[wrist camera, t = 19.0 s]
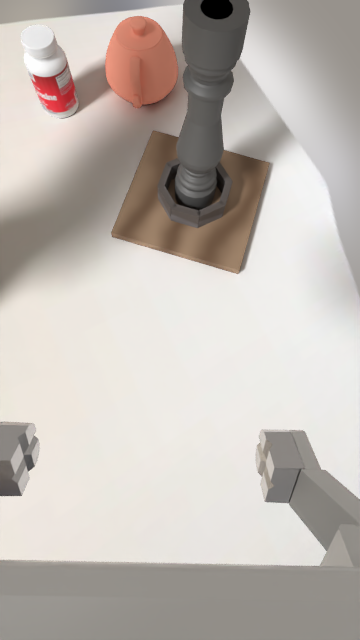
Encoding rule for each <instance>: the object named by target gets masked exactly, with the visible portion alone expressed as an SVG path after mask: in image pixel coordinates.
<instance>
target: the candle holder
mask: <svg viewBox="0 0 360 640" xmlns="http://www.w3.org/2000/svg"><path fill="white" fill-rule="evenodd" d="M249 15H250V8H249V3H248V1H247V0H185V1H184V4H183V27H182V48H183V53H184V55H185V61H186V63H187V64H188V66H187V67H186V69H185V71H184V74H183V82H184V88H185V89H186V91H187V92H188V109H187V114H186V117H185V120H184V123H183V126H182V130H181V133H180V135H179V138H178V141H177V144H176V150H177V157H178V159H179V161H180V162H181V164H180V165H179V167H178V170H177V175H176V177H175V199H176V201H177V202H178V204H179V205H181V206H184V207H188V208H191V209H195V210H198V211H199V210H201V209H203V208H205V207H208V206H209V205H210V204H211V203H212V201H213V198H214V194H215V189H216V185H217V180H216V176H217V174H216V168H215V167H216V166H217V165H218V163H219V162H220V160H221V157H222V154H223V150H224V147H223V136H222V124H221V111H222V106H223V100H224V98H225V97H226V96H227V95H228V94H229V93H230V91H231V88H232V85H233V82H234V79H233V73H232V72H231V70H232V69H233V68H234V67H235V65H236V62H237V60H239V58H240V55H241V52H242V49H243V44H244V39H245V35H246V30H247V25H248V20H249Z"/></svg>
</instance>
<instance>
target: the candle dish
mask: <svg viewBox="0 0 360 640" xmlns="http://www.w3.org/2000/svg"><path fill="white" fill-rule="evenodd" d="M178 138H179V137H175V136H171V135H168V134H164V133H161V132H157V131H153V132H152V134H151V137H150V139H149V142H148V144H147V147H146V149H145V151H144V154H143V156H142V159H141V161H140V164H139V166H138V169H137V171H136V173H135V176H134V178H133V181H132V183H131V186H130V188H129V191H128V193H127V195H126V198H125V200H124V203H123V205H122V208H121V210H120V213H119V215H118V217H117V220H116V222H115V225H114V227H113V230H112V232H111V234H112V237H115V238H118V239H122V240H125V241H128V242H132V243H135V244H138V245H142V246H145V247H149V248H152V249H155V250H159V251H162V252H165V253H169V254H172V255H176V256H179V257H182V258H186V259H189V260H193V261H196V262H199V263H203V264H206V265H209V266H213V267H216V268H220V269H223V270H226V271H230V272H233V273H236V274H238V273H239V271H240V267H241V264H242V260H243V257H244V253H245V249H246V246H247V242H248V239H249V235H250V231H251V228H252V224H253V221H254V217H255V214H256V210H257V206H258V203H259V199H260V196H261V192H262V189H263V185H264V181H265V178H266V174H267V171H268V167H269V163H268V162H265V161H261V160H258V159H254V158H250V157H247V156H243V155H240V154H236V153H232V152H229V151H225V150H223V154H222V157H221V160H220V162H219V163H218V165H217V166H216V167H215V168H216V174H217V176H216V180H217V185H216V189H215V194H214V198H213V201H212V203H211V204H210V205H209V206H208V207H205V208H203V209H201V210H199V211H198V210H195V209H191V208H188V207H184V206H181V205H179V204H178V202H177V201H176V199H175V177H176V175H177V170H178V167H179V165H180V164H181V162H180V161H179V159H178V157H177V150H176V144H177V141H178Z"/></svg>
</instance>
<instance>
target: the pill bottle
mask: <svg viewBox="0 0 360 640" xmlns="http://www.w3.org/2000/svg"><path fill="white" fill-rule="evenodd" d="M21 42H22V44H23V47H24V50H25V54H24V62H25V65H26V68H27V70H28V73H29V75H30V77H31V80H32V82H33V85H34V87H35V90H36V92H37V95H38V97H39V99H40V102H41V104H42V107H43V109H44V110H45V112H46V113H47V114H49V115H50V116H52V117H55V118H66V117H69V116H71V115H72V114H74V113H75V112H76V110H77V108H78V105H79V101H78V97H77V93H76V90H75V86H74V83H73V79H72V76H71V72H70V69H69V65H68V62H67V58H66V55H65V53H64V51H63V49H62V48H61V47H60V46H59V45H57V41H56V39H55V36H54V33H53V31H52V30H51V29H50V28H49V27H47V26H45V25H31V26H29V27H27V28H25V29H24V30H23V32H22V33H21Z"/></svg>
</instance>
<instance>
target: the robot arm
mask: <svg viewBox="0 0 360 640" xmlns="http://www.w3.org/2000/svg"><path fill="white" fill-rule="evenodd" d="M35 432H36V428H35V425H34V424H33V423H20V422H0V496H22V494H23V492H24V490H25V487H26V485H27V483H28V481H29V474H28V471H30V470H31V469H32V468H33V467H35V464H36V462H37V459H38V455H39V440H38V438H36V437H35V436H34V434H35ZM259 439H260V443H259V444H258V445H257V448H256V466H257V471H258V473H259V474H260V475H261V476H262V480H261V488H262V492H263V496H264V501H265V502H276V503H289V505H290V506H291V508H292V509H293V510H294V511H295V512H296V514H297V515H298V516H299V517H300V519H301V520H302V521H303V522H304V524H305V525H306V526H307V527H308V529H309V530H310V531H311V532H312V533H313V535H314V536H315V537H316V538H317V540H318V541H319V542H320V543H321V545H322V546H323V547H324V548H325V550H326V551H327V552H326V554H325V556H324V558H323V560H322V562H321V564H320V566H290V565H240V564H190V563H140V562H87V561H36V560H0V640H360V499H358V498H357V497H356V496H355V495H354V494H353V493H351V492H350V491H349V490H348V489H347V488H346V487H345V486H343V485H342V484H341V483H340V482H339V481H338V480H336V479H335V478H334V477H333V476H332V475H331V474H330V473H328V472H327V471H326V470H321V468H320V466H319V463H318V461H317V459H316V456H315V454H314V452H313V449H312V447H311V445H310V442H309V440H308V438H307V435H306V433H305V432H304V431H303V430H261V431H260V435H259Z"/></svg>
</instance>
